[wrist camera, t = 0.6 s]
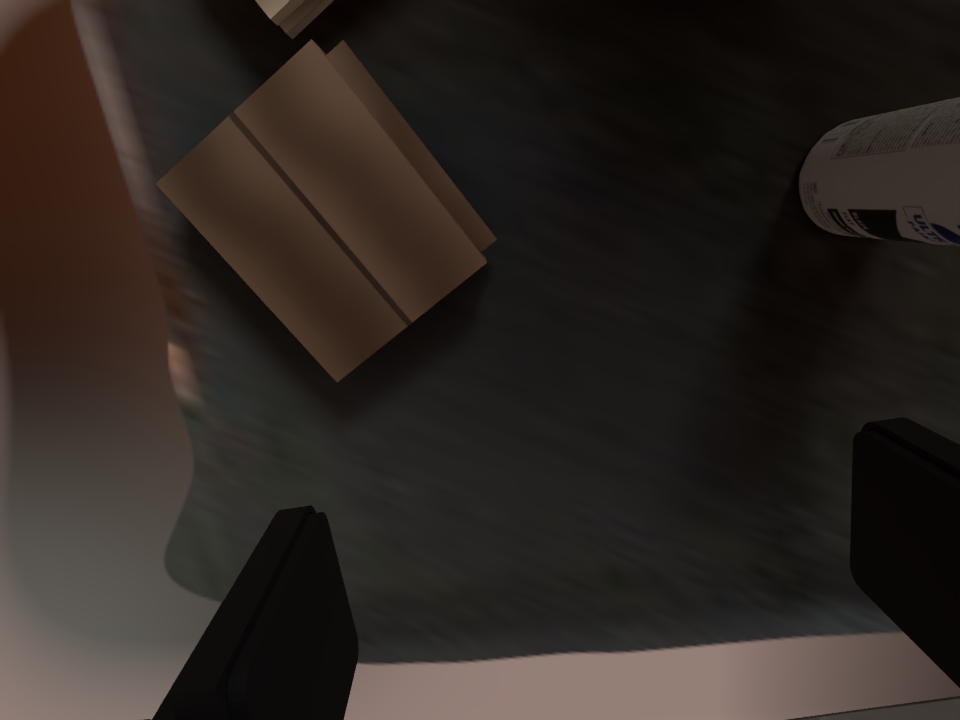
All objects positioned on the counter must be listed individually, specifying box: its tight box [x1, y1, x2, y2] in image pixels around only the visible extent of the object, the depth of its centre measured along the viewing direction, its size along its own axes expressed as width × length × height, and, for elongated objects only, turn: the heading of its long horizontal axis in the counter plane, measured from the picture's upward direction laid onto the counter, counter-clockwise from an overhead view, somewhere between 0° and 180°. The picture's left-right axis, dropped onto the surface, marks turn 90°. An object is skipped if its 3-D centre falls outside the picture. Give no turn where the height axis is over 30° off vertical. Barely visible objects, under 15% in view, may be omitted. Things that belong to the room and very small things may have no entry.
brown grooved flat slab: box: [156, 39, 497, 382], centre depth 33 cm, size 12×14×4 cm
